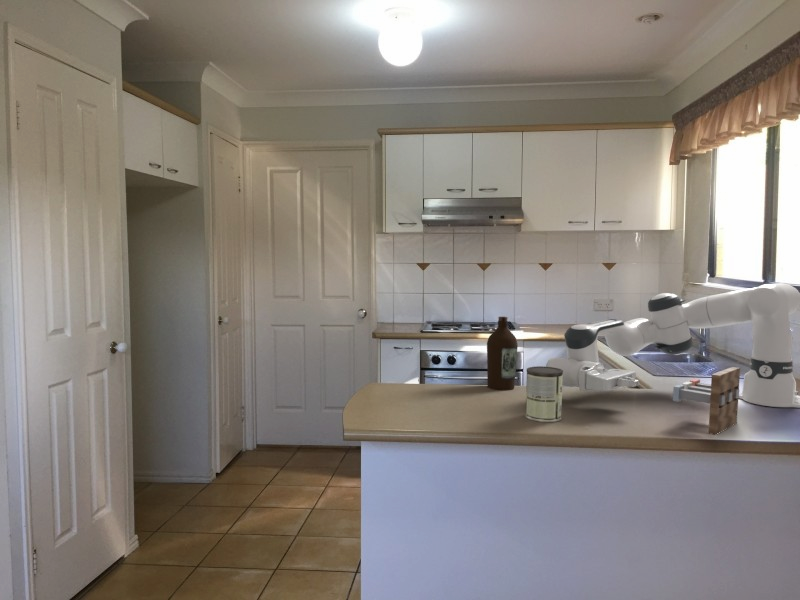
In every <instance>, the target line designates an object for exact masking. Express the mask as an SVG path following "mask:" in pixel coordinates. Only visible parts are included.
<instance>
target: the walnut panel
mask: <svg viewBox="0 0 800 600" xmlns="http://www.w3.org/2000/svg"><path fill="white" fill-rule="evenodd" d="M740 374H741V367H735V366H732V367H728V368H726V369H723V370H720V371H717V372H714V373H712V374H711V381H710V383H711V384H710V385H711V397H710V404H709V416H708V419H709V420H708V432H709V433H708V434H710V433H714V434H713V435H715V434H717V433H719V432H720V433H722V432H724V431H725V429H726V428H727V429H729V428H731V427H732V425H733V424H734V425H736V424H737V423H738V413H739V412H738V410H739V409H738V408H739V398H734V388H737V389H739V390H740V376H741V375H740ZM727 391H729V392H732V401H730V402H727ZM720 395H725V404H724V405H722V406H721V405H719V397H720ZM735 423H736V424H735ZM734 425H733V426H734ZM730 426H731V427H730ZM728 427H729V428H728ZM727 429H726V430H727ZM723 430H724V431H723ZM721 431H722V432H721ZM720 433H719V434H720ZM717 435H718V434H717Z"/></svg>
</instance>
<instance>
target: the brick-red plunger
mask: <svg viewBox="0 0 800 600" xmlns="http://www.w3.org/2000/svg"><path fill="white" fill-rule="evenodd" d="M689 382H692V386H697V387H703V388H710V389H711V384H709V383H705V382H704V383H703V382H702V383H701V380H700V379H698V378H694V379H691V380H689ZM739 394H740V388H739V389H737V388H734V398H738V397H739ZM738 399H739V398H738Z"/></svg>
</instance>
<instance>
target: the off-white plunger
mask: <svg viewBox="0 0 800 600" xmlns="http://www.w3.org/2000/svg"><path fill="white" fill-rule="evenodd" d="M681 385H685V386H684V389H689V390H695V391H701V392H707V393H711V389H710V388H703V387H697V386H692V382H690V381H685V382H683V383H681ZM730 401H732V392H729V391H727V402H730Z"/></svg>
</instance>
